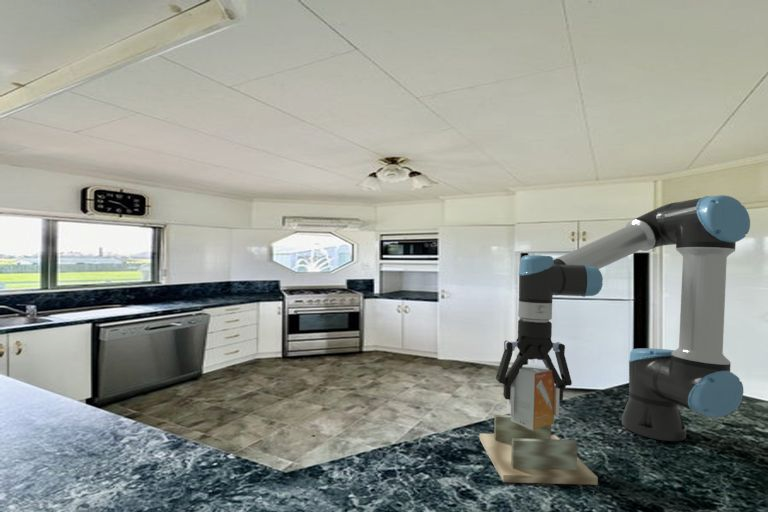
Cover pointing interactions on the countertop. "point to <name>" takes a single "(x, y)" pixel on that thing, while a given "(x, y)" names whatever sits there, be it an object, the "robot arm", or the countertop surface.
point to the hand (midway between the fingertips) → (532, 413)
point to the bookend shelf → (534, 455)
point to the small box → (534, 397)
